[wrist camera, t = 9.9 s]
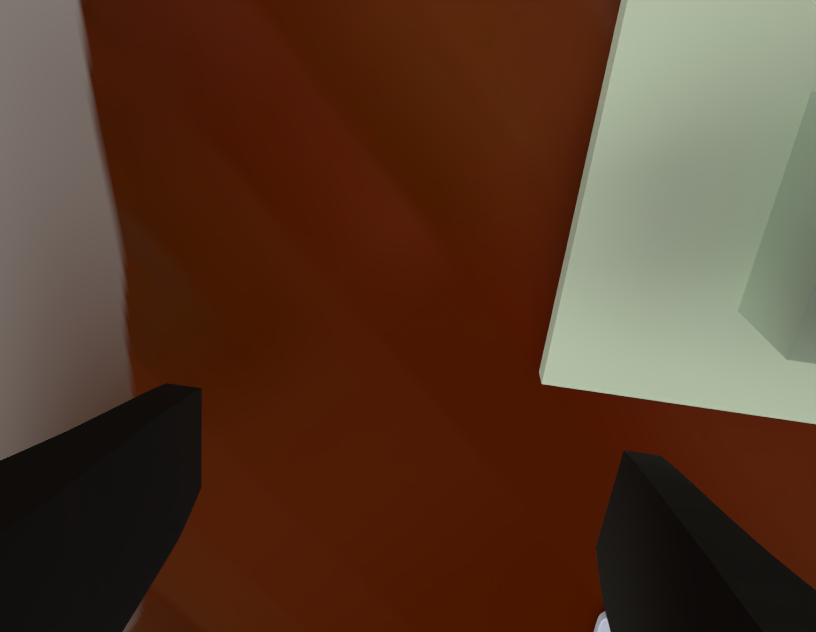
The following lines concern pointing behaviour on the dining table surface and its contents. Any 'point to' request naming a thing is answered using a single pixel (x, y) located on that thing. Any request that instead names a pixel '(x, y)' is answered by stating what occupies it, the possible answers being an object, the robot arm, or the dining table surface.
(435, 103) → the dining table surface
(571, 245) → the lid
